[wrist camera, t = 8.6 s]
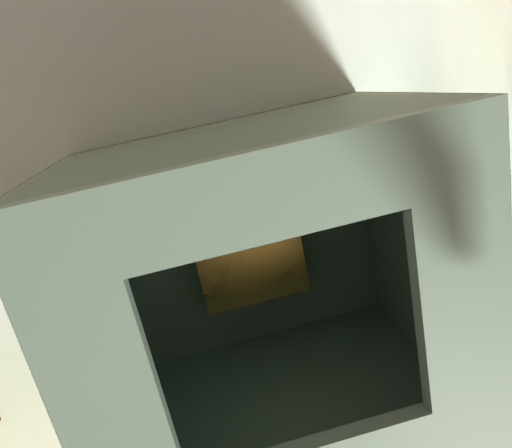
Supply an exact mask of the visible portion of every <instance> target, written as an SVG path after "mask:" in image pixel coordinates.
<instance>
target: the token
mask: <svg viewBox="0 0 512 448" xmlns="http://www.w3.org/2000/svg"><path fill="white" fill-rule="evenodd" d="M196 266H197V270H198V274H199V278H200V281H201V285H202V289H203V293H204V297H205V301H206V304H207V308H208V312H209V316H210V315H214V314H218V313H222V312H225V311H229V310H233V309H237V308H241V307H245V306H248V305H252V304H256V303H260V302H264V301H268V300H271V299H275V298H279V297H283V296H287V295H291V294H294V293H298V292H302V291H306V290H310V285H309V279H308V274H307V268H306V263H305V257H304V252H303V246H302V241H301V236H298V237H294V238H290V239H286V240H282V241H278V242H274V243H270V244H266V245H262V246H258V247H254V248H250V249H246V250H242V251H238V252H234V253H230V254H226V255H222V256H217V257H213V258H209V259H205V260H201V261H197V262H196Z"/></svg>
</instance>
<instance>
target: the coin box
mask: <svg viewBox="0 0 512 448" xmlns="http://www.w3.org/2000/svg"><path fill="white" fill-rule="evenodd" d="M298 236H301V241H302V246H303V252H304V257H305V263H306V268H307V274H308V279H309V285H310V290H306V291H302V292H298V293H294V294H291V295H287V296H283V297H279V298H275V299H271V300H268V301H264V302H260V303H256V304H252V305H248V306H245V307H241V308H237V309H233V310H229V311H225V312H222V313H218V314H214V315H210V316H209V312H208V308H207V304H206V301H205V297H204V293H203V289H202V285H201V281H200V278H199V274H198V270H197V266H196V262H197V261H201V260H205V259H209V258H213V257H217V256H222V255H226V254H230V253H234V252H238V251H242V250H246V249H250V248H254V247H258V246H262V245H266V244H270V243H274V242H278V241H282V240H286V239H290V238H294V237H298ZM0 298H1V300H2V302H3V305H4V307H5V310H6V312H7V315H8V317H9V320H10V322H11V324H12V327H13V329H14V332H15V334H16V337H17V339H18V342H19V344H20V346H21V349H22V351H23V354H24V356H25V359H26V361H27V364H28V366H29V368H30V371H31V373H32V376H33V378H34V381H35V383H36V386H37V388H38V390H39V393H40V395H41V398H42V400H43V403H44V405H45V408H46V410H47V412H48V415H49V417H50V420H51V422H52V425H53V427H54V430H55V432H56V434H57V437H58V439H59V442H60V444H61V447H62V448H512V203H511V174H510V145H509V116H508V93H423V92H353V93H349V94H344V95H340V96H335V97H331V98H326V99H321V100H317V101H312V102H308V103H303V104H299V105H294V106H290V107H285V108H281V109H276V110H271V111H267V112H262V113H258V114H253V115H249V116H244V117H240V118H235V119H231V120H226V121H222V122H217V123H212V124H208V125H203V126H199V127H194V128H190V129H185V130H181V131H176V132H172V133H167V134H163V135H158V136H153V137H149V138H144V139H140V140H135V141H131V142H126V143H122V144H117V145H113V146H108V147H103V148H99V149H94V150H90V151H85V152H81V153H76V154H72V155H68V156H67V157H65V158H63V159H62V160H60V161H58V162H57V163H55V164H53V165H52V166H50V167H49V168H47V169H45V170H44V171H42V172H40V173H39V174H37V175H35V176H34V177H32V178H30V179H29V180H27V181H25V182H24V183H22V184H20V185H19V186H17V187H16V188H14V189H12V190H11V191H9V192H7V193H6V194H4V195H2V196H1V197H0Z"/></svg>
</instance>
